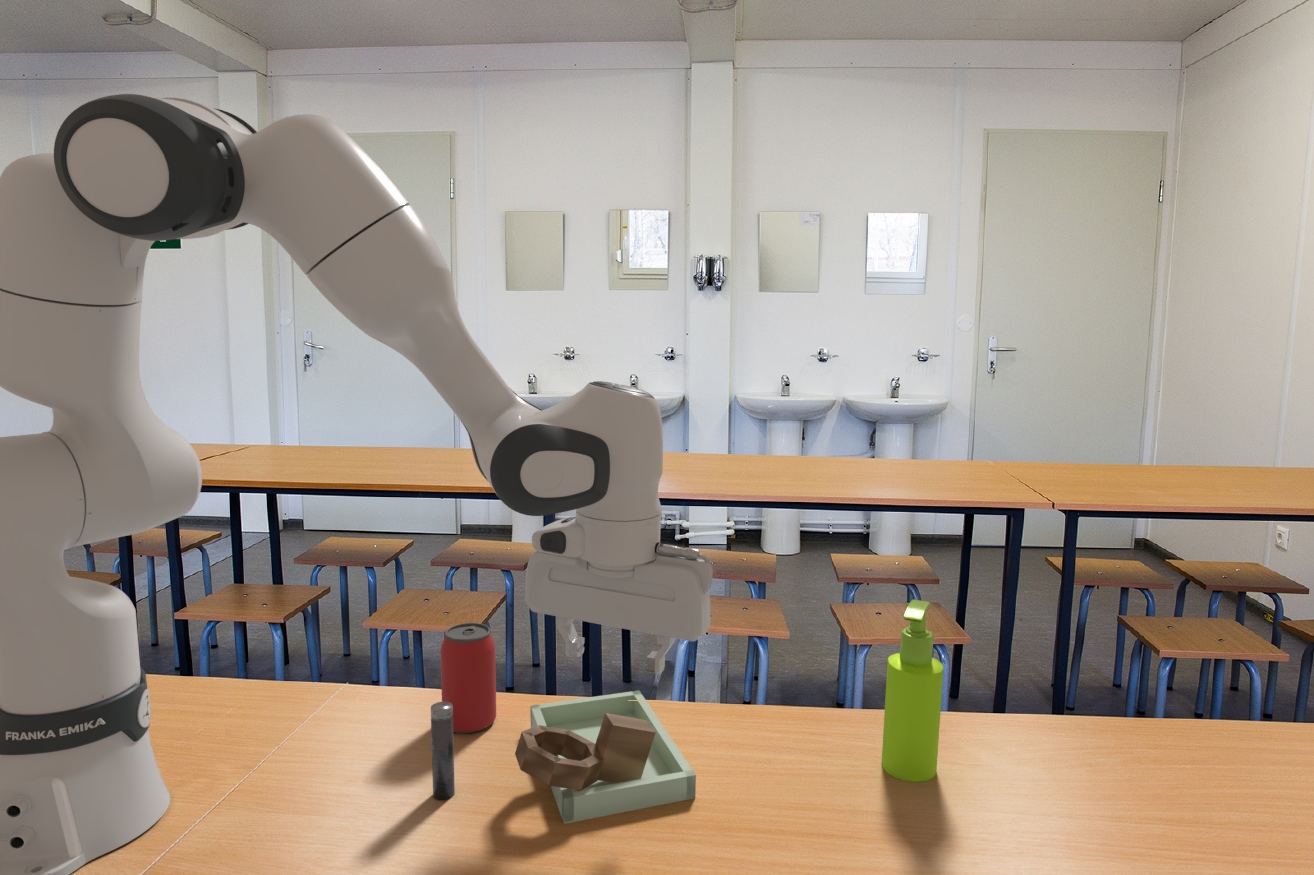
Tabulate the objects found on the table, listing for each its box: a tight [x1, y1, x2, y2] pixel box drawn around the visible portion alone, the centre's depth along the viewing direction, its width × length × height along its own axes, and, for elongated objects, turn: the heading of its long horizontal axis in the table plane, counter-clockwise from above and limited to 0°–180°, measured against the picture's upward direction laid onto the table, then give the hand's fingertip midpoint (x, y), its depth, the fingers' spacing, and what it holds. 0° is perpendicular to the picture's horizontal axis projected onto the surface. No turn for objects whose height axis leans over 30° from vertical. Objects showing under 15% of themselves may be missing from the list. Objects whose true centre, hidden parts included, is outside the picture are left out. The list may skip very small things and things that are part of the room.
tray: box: [529, 690, 697, 825], centre depth 89 cm, size 14×20×3 cm
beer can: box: [440, 622, 497, 734], centre depth 97 cm, size 7×7×12 cm
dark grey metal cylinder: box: [430, 701, 456, 802], centre depth 82 cm, size 2×2×10 cm
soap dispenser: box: [881, 599, 944, 783], centre depth 86 cm, size 6×7×20 cm
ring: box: [514, 713, 656, 790], centre depth 82 cm, size 8×13×6 cm, turn 110°
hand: (614, 662), depth 83 cm, fingers open, 8 cm apart
